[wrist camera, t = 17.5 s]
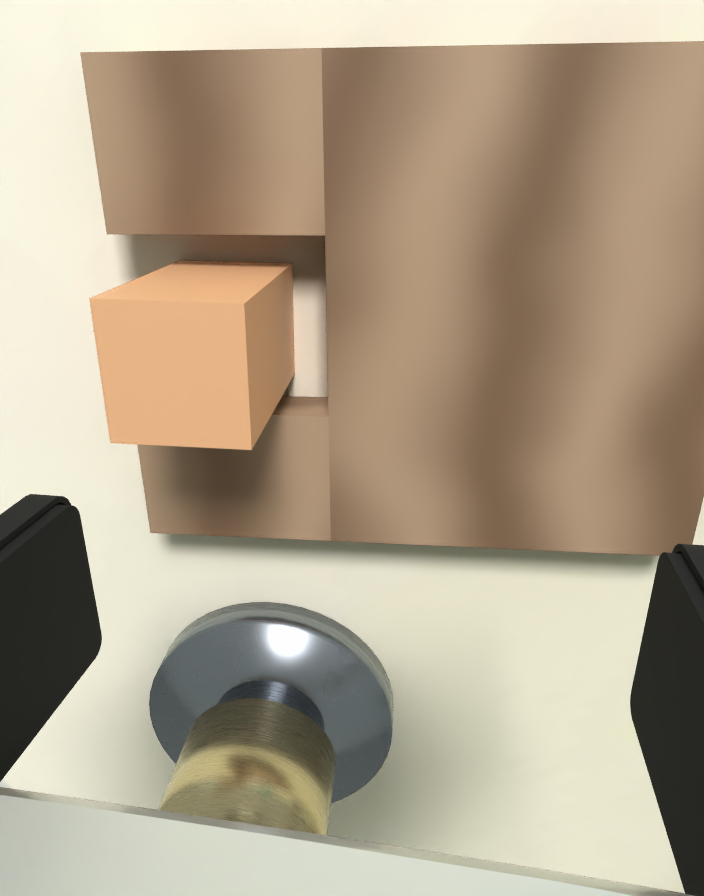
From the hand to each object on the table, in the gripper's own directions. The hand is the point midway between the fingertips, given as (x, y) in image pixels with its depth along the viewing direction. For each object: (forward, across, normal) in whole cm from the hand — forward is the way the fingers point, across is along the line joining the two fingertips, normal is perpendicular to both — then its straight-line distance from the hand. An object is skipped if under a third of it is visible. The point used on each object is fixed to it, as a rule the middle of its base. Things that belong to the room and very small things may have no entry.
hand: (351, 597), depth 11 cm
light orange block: (+14, +6, -2) cm, 15 cm away
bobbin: (+14, +6, +16) cm, 23 cm away
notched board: (+14, 0, -2) cm, 14 cm away
